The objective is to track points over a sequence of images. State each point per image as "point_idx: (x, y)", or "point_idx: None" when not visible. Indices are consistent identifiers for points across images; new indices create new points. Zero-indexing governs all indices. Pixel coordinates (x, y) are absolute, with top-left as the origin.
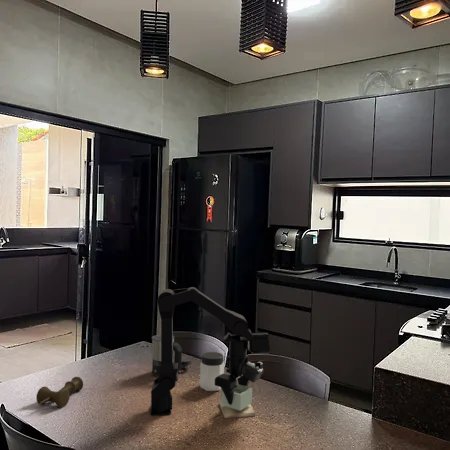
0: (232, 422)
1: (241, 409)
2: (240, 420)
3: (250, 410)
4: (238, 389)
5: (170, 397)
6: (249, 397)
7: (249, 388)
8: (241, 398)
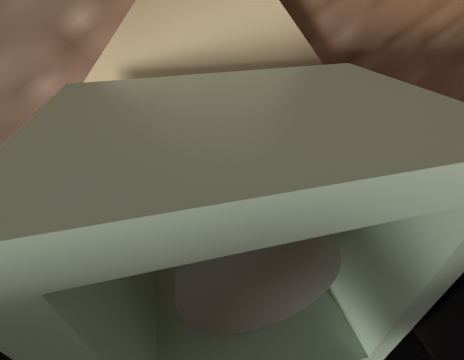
0: (416, 47)
1: (329, 66)
2: (368, 7)
3: (195, 6)
4: (143, 328)
5: (427, 351)
6: (135, 113)
7: (41, 276)
8: (457, 114)
